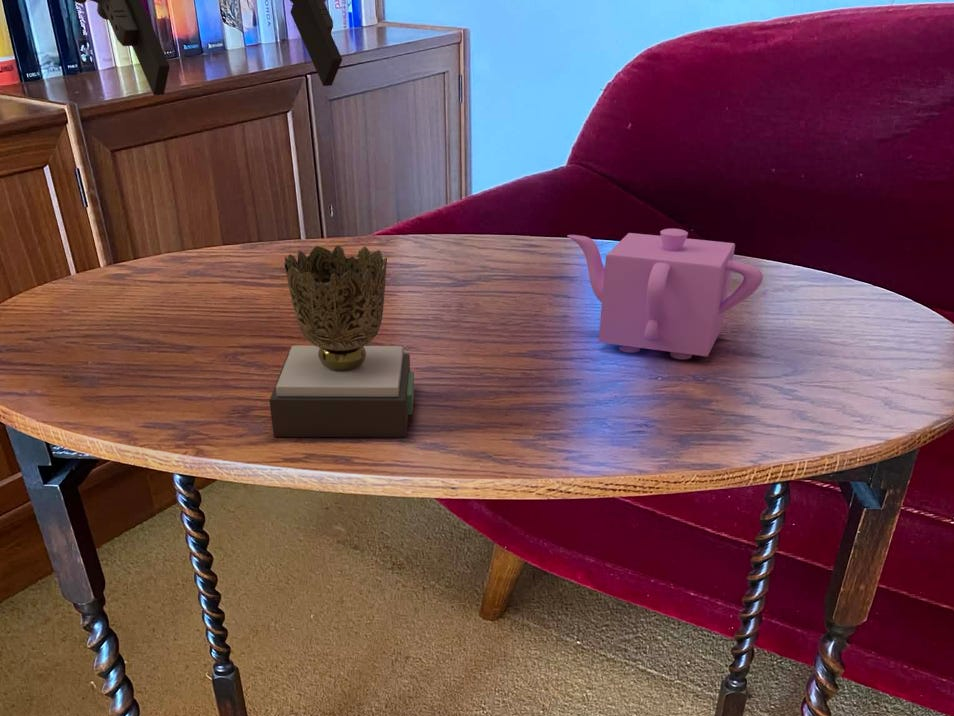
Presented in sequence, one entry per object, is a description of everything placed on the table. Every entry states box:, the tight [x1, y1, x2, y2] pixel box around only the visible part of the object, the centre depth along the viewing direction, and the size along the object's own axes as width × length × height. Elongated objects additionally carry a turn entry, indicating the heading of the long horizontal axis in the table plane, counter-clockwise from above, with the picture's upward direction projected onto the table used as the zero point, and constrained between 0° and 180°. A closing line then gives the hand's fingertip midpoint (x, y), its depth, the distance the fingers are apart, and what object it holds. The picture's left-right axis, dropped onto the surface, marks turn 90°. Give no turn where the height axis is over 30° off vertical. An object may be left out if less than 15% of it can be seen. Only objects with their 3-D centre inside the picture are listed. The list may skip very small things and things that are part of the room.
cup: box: [283, 245, 388, 370], centre depth 72 cm, size 8×7×8 cm
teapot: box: [567, 228, 764, 360], centre depth 88 cm, size 18×14×10 cm
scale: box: [268, 345, 415, 438], centre depth 76 cm, size 10×10×4 cm
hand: (251, 77), depth 70 cm, fingers open, 13 cm apart
